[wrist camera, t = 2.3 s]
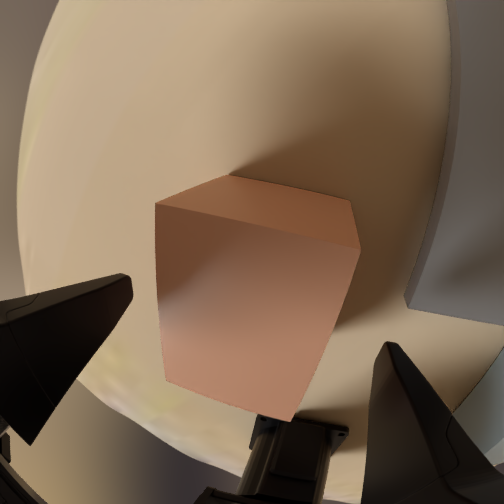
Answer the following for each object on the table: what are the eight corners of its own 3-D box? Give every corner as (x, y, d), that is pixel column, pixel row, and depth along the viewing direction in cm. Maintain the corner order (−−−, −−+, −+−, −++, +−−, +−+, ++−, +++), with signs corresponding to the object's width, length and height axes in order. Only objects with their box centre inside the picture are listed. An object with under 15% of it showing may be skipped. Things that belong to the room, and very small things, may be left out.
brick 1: (308, 339, 13) (290, 422, 9) (213, 312, 14) (166, 380, 10) (349, 200, 10) (361, 250, 6) (226, 174, 11) (155, 203, 7)
